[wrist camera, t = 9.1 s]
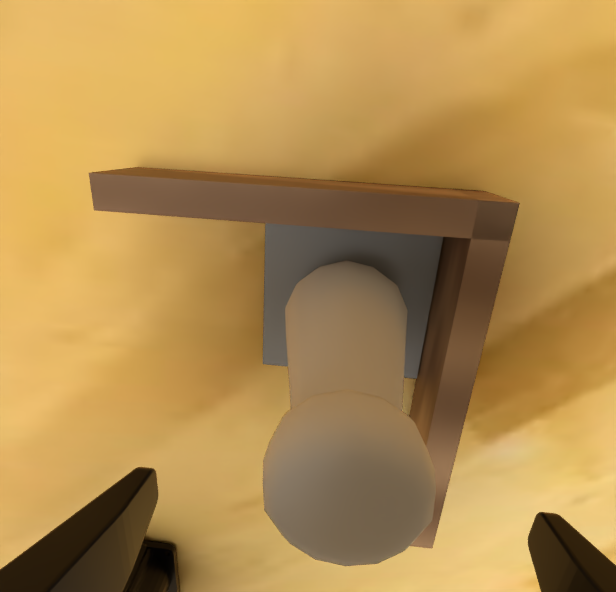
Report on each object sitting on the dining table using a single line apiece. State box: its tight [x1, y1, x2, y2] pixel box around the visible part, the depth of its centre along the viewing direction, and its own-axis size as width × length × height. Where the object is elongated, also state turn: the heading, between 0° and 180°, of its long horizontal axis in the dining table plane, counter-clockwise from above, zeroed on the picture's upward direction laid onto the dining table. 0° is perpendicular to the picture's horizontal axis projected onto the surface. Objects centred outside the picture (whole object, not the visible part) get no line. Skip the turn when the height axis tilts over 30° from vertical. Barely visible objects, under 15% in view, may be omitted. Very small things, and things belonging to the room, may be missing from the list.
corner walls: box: [89, 167, 520, 548], centre depth 21 cm, size 19×17×4 cm
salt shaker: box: [263, 260, 436, 566], centre depth 15 cm, size 6×6×13 cm
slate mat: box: [263, 223, 443, 379], centre depth 21 cm, size 9×9×1 cm
